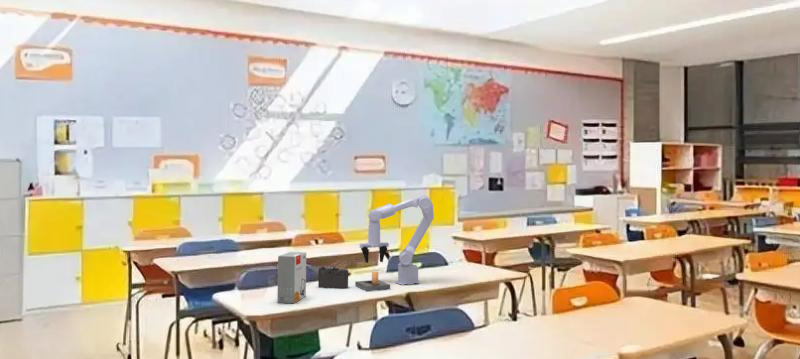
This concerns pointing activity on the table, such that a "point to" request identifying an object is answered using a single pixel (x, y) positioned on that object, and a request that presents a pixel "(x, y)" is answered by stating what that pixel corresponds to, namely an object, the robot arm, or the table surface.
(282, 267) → the hard drive box
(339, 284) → the camera
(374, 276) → the peg
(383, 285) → the keyhole plate
